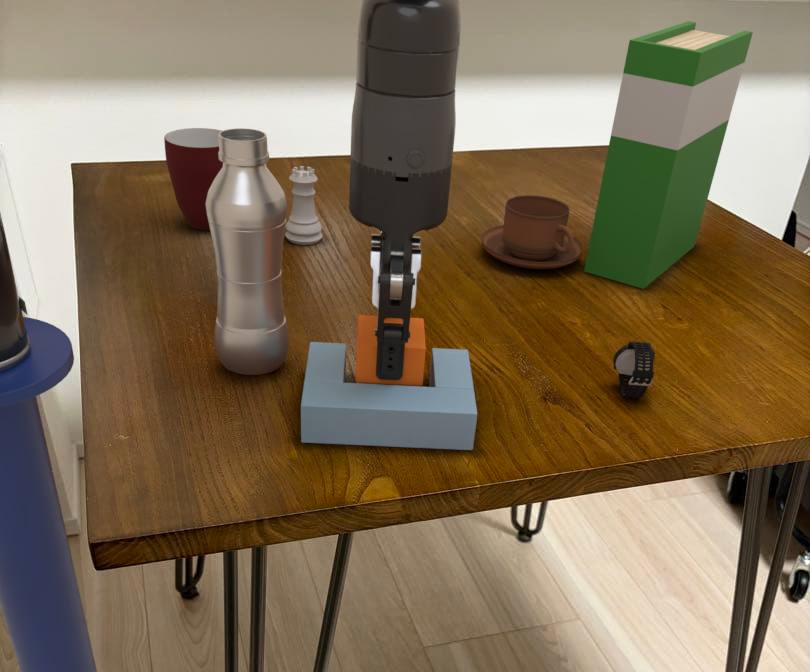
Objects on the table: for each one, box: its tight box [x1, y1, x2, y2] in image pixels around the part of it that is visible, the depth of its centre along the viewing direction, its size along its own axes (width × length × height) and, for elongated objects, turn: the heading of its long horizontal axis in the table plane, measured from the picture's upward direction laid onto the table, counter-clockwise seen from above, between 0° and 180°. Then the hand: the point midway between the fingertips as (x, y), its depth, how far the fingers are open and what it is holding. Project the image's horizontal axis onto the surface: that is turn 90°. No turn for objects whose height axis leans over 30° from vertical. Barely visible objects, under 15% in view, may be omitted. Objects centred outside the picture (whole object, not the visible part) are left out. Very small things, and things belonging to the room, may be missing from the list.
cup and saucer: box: [481, 194, 584, 270], centre depth 105 cm, size 12×12×6 cm
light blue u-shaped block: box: [300, 341, 478, 451], centre depth 76 cm, size 14×11×4 cm
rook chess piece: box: [284, 165, 323, 246], centre depth 104 cm, size 4×4×8 cm
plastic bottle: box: [205, 127, 290, 376], centre depth 76 cm, size 6×7×20 cm
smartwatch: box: [612, 341, 656, 399], centre depth 81 cm, size 4×5×5 cm
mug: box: [163, 127, 223, 231], centre depth 106 cm, size 11×8×10 cm
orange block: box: [355, 314, 427, 387], centre depth 76 cm, size 6×6×4 cm
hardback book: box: [583, 21, 754, 290], centre depth 102 cm, size 18×7×24 cm, turn 147°
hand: (388, 359), depth 76 cm, fingers closed on orange block, 5 cm apart
